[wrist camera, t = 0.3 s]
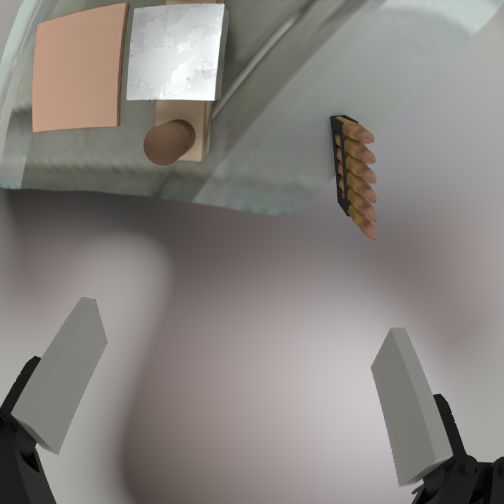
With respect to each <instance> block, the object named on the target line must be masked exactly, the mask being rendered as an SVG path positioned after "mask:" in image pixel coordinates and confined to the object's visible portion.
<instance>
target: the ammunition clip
mask: <svg viewBox="0 0 504 504" xmlns="http://www.w3.org/2000/svg"><path fill="white" fill-rule="evenodd" d="M330 120H331V129H332V138H333V148H334V158H335V170H336V183H337V198H338V203H339V204H340V206H341V207H342V209H343V210H344V212H345V213H346V215H347V216H351V218H352V219H353V221H354V223H355V224H356V225H357V226H358V227H359V228H360V229H361V230H362V231H363V233H364V234H365V235H366V236H367V237H368V238H370V239H372V240H375V239H376V232H375V229H374V227H373V225H372V223H371V221H372V222H376V219H377V218H376V213H375V211H374V209H373V207H372V206H371V204H370V203H369V202H371V203H375V202H376V195H375V193H374V191H373V190H372V188H371V187H370V186H369V184H368V183H371V184H374V183H375V182H376V177H375V175H374V173H373V172H372V170H371V169H370V168H369V167H368V166H367V164H366V163H369V164H372V163H374V162H375V157H374V155H373V153H372V152H371V151H370V150H368V149H367V148H366V146H365V145H364V144H363V143H368V144H369V143H372V142H374V137H373V135H372V134H371V133H370V132H369V131H368V130H366V129H365V128H364V127H363V126H362V125H360V124H358V122H357V121H355V120H353V119H352V118H350V117H348V116H346V115H341V116H331V117H330ZM361 142H363V143H361Z"/></svg>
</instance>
